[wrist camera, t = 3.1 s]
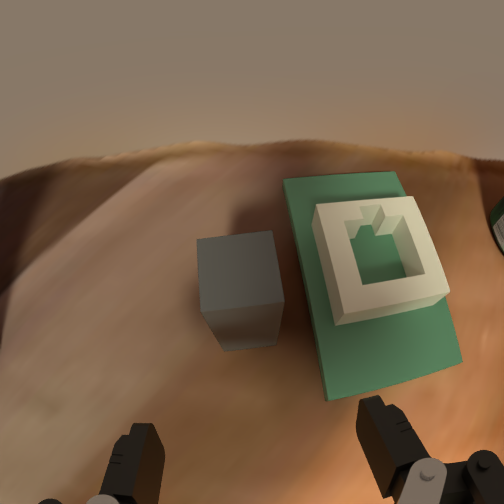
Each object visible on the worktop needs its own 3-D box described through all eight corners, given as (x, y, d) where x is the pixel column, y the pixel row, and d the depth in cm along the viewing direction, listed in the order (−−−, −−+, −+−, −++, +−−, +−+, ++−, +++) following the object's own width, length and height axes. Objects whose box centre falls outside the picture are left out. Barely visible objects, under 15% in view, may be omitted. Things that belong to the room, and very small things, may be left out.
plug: (224, 351, 24) (200, 312, 15) (218, 293, 26) (196, 226, 17) (276, 345, 24) (284, 301, 15) (267, 287, 26) (269, 217, 17)
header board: (325, 401, 22) (337, 398, 18) (282, 187, 31) (284, 156, 27) (455, 364, 22) (482, 354, 18) (391, 178, 31) (403, 151, 28)
